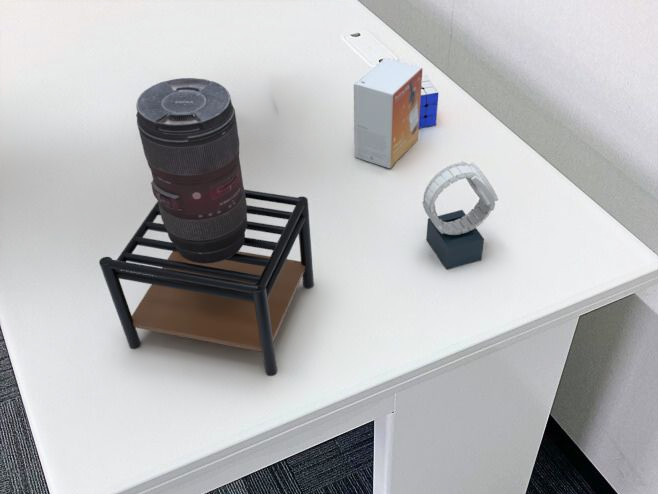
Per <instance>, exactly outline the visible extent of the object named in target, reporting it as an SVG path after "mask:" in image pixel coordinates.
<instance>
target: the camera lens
mask: <svg viewBox="0 0 658 494" xmlns="http://www.w3.org/2000/svg"><path fill="white" fill-rule="evenodd" d="M135 104H136V105H135V107H136V115H135V116H136V126H137V129H138V133H139V136H140V141H141V146H142V149H143V154H144V156H145V160H146V162H147V165H148V168H149V170H150V172H151V176H152V181H151V182H150V185H151V189H152V194H153V196H154V198H155V199H156V200H157V201H158V205H159V209H160V214H161V215H160V218H161V221H162V224H164V225H165V228H166V230H167V233H166V234H167V237H168V239H169V240H170V242H172V243H173V244H174V245H176V248H177V251H178V252H179V253H180V255H181V256H183V257H184V258H185V259H187V260H189V261H192V262H196V263H205V264H207V263H215V262H220V261H222V260H225V259H228V258H230V257H231V256H233V255H235V254H236V253H237V252H238V251H241V249H242V248H243V247H244V245H243V244H244V241H245V237H246V231H247V230H248V229H247V221H248V216H247V215H248V213H247V205H248V204H247V198H246V196H245V190H246V189H245V186H244V181H243V175H242V167H241V160H240V137H239V130H238V123H237V115H236V110H235V107H234V105H233V102H232V97H231V94H230V92H229V91H228V90H227V88H226V87H225V86H223V85H222V84H220V83H218V82H216V81H214V80H209V79H205V78H197V77H182V78H181V77H180V78H172V79H169V80H164V81H161V82H157V83H156V84H154V85H151V86H150V87H148V88H146V89H145V90H144V91H143V92H141V94H140V95H139V96H138V98H137V101H136V103H135Z"/></svg>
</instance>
